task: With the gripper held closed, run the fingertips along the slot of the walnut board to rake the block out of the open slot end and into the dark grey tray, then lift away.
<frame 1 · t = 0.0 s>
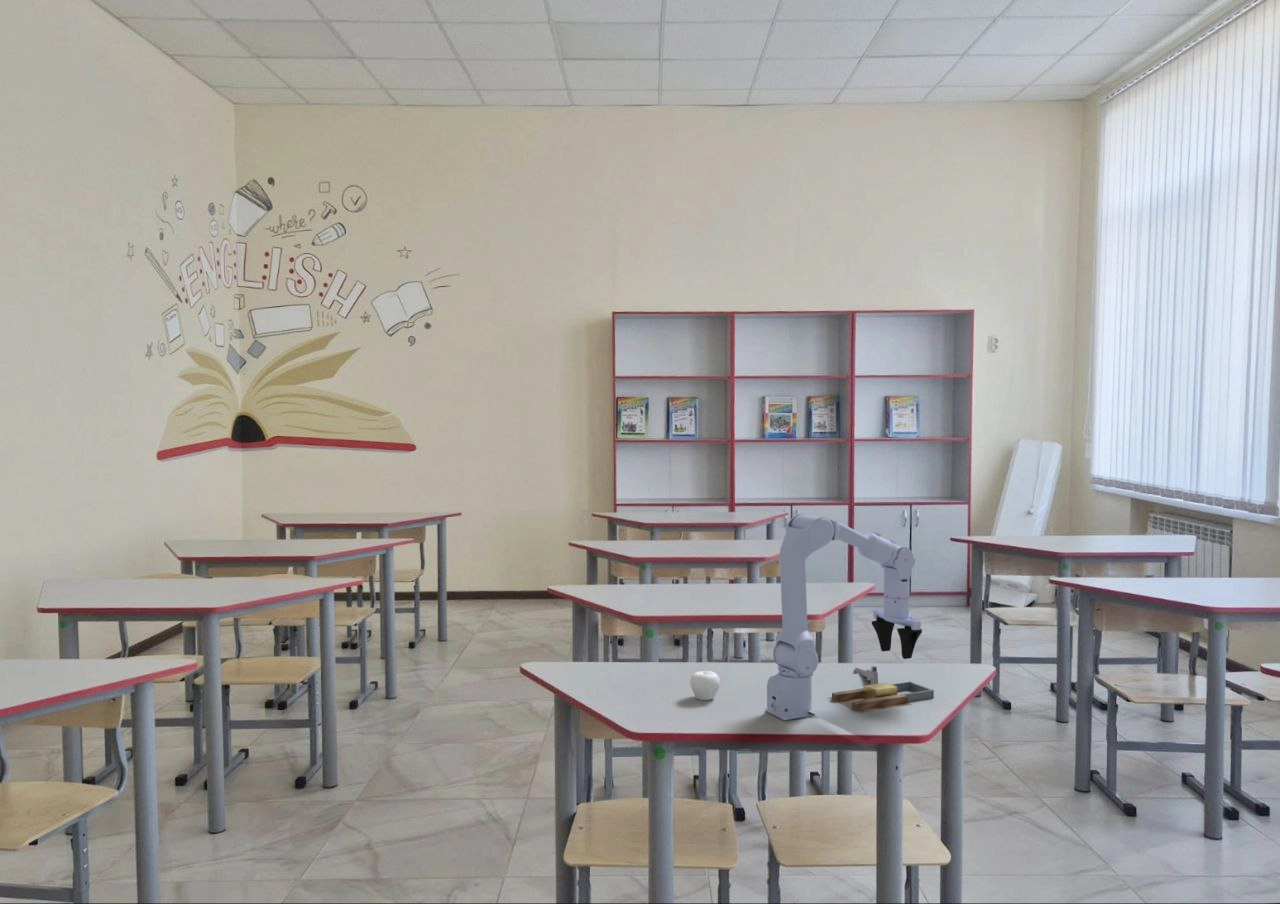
hand: (896, 654, 219), 10 cm above the table, tool pointing down, fingers open, 7 cm apart
slot board: (869, 706, 212), on the table
plain white apple: (705, 699, 219), on the table
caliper: (865, 683, 233), on the table
tray: (908, 700, 217), on the table
block: (880, 699, 214), point 1 cm above the table, touching slot board
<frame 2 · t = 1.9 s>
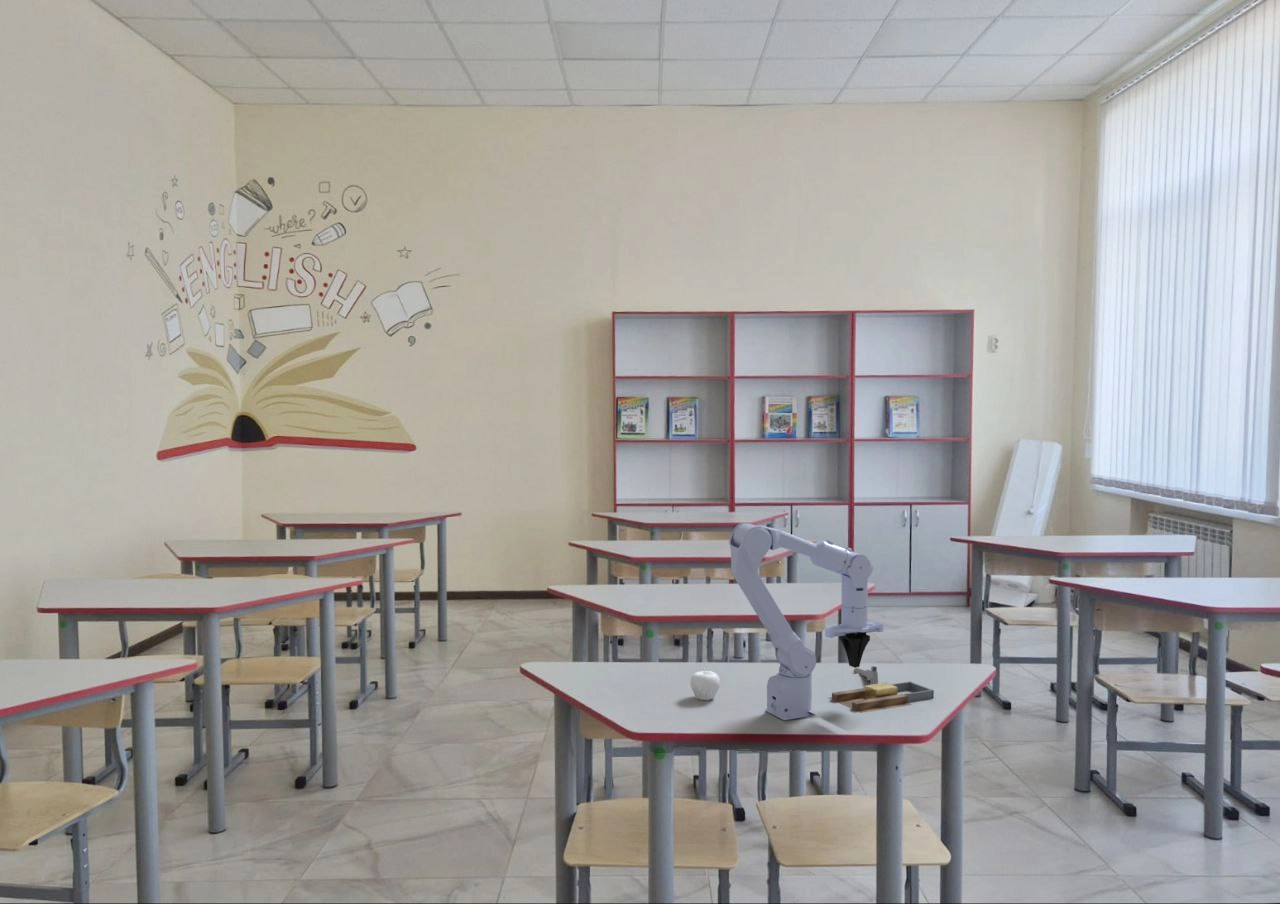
hand: (854, 666, 210), 10 cm above the table, tool pointing down, fingers closed
nothing on the table moved.
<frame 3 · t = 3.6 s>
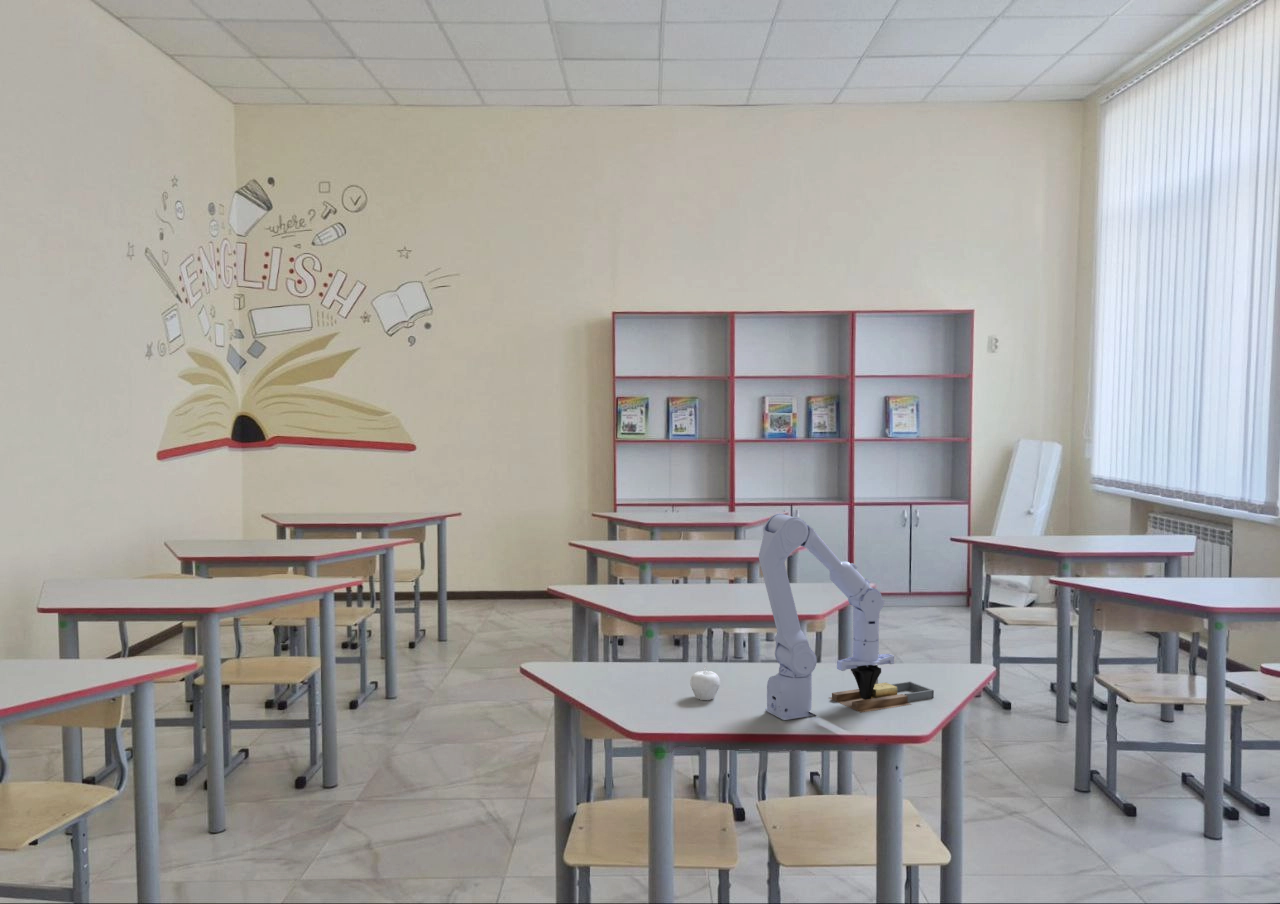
hand: (865, 698, 212), 2 cm above the table, tool pointing down, fingers closed
block: (880, 699, 214), point 1 cm above the table, touching gripper, slot board
everything else where it was.
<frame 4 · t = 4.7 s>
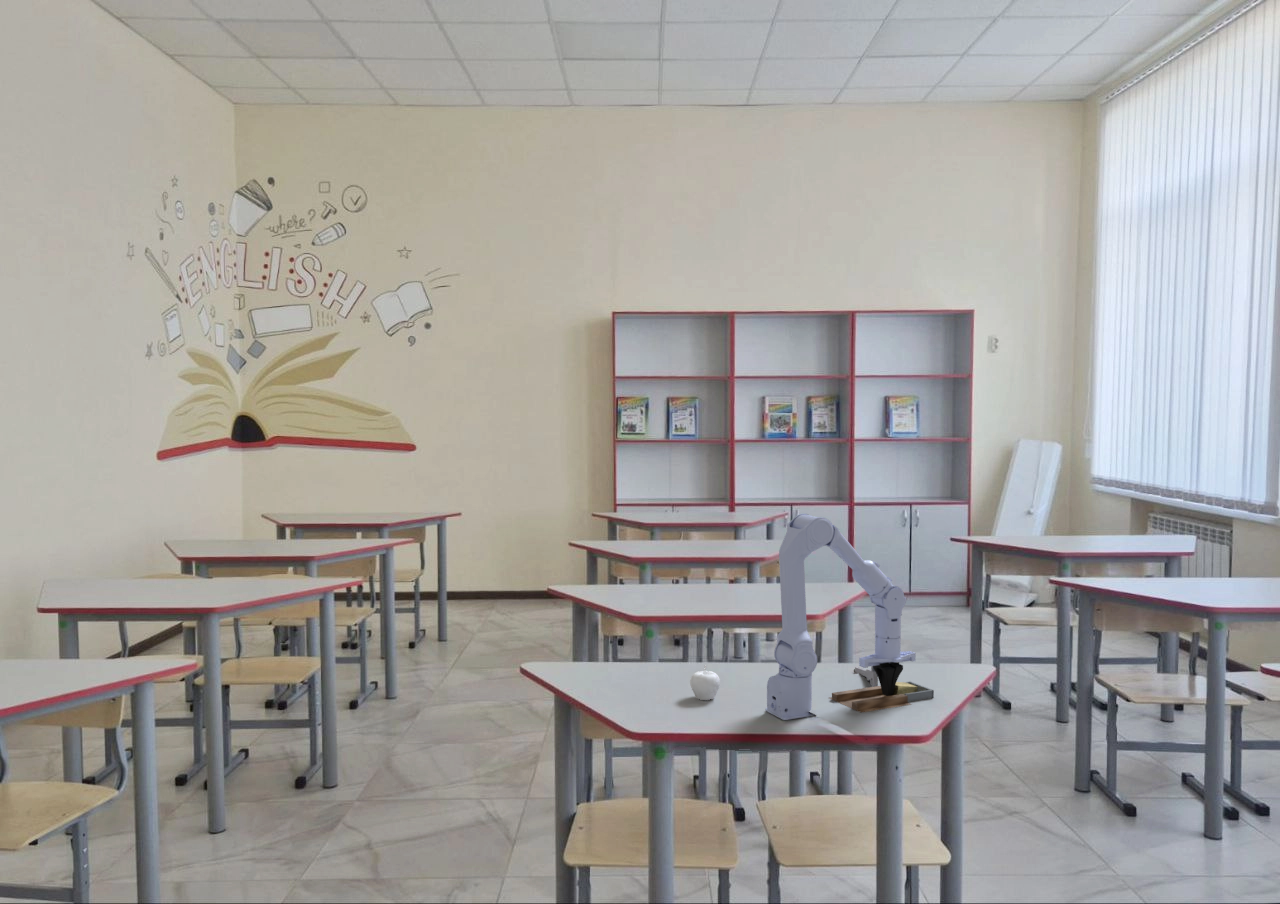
hand: (887, 695, 214), 2 cm above the table, tool pointing down, fingers closed
block: (900, 697, 216), point 1 cm above the table, tilted 9°, touching gripper
everything else where it was.
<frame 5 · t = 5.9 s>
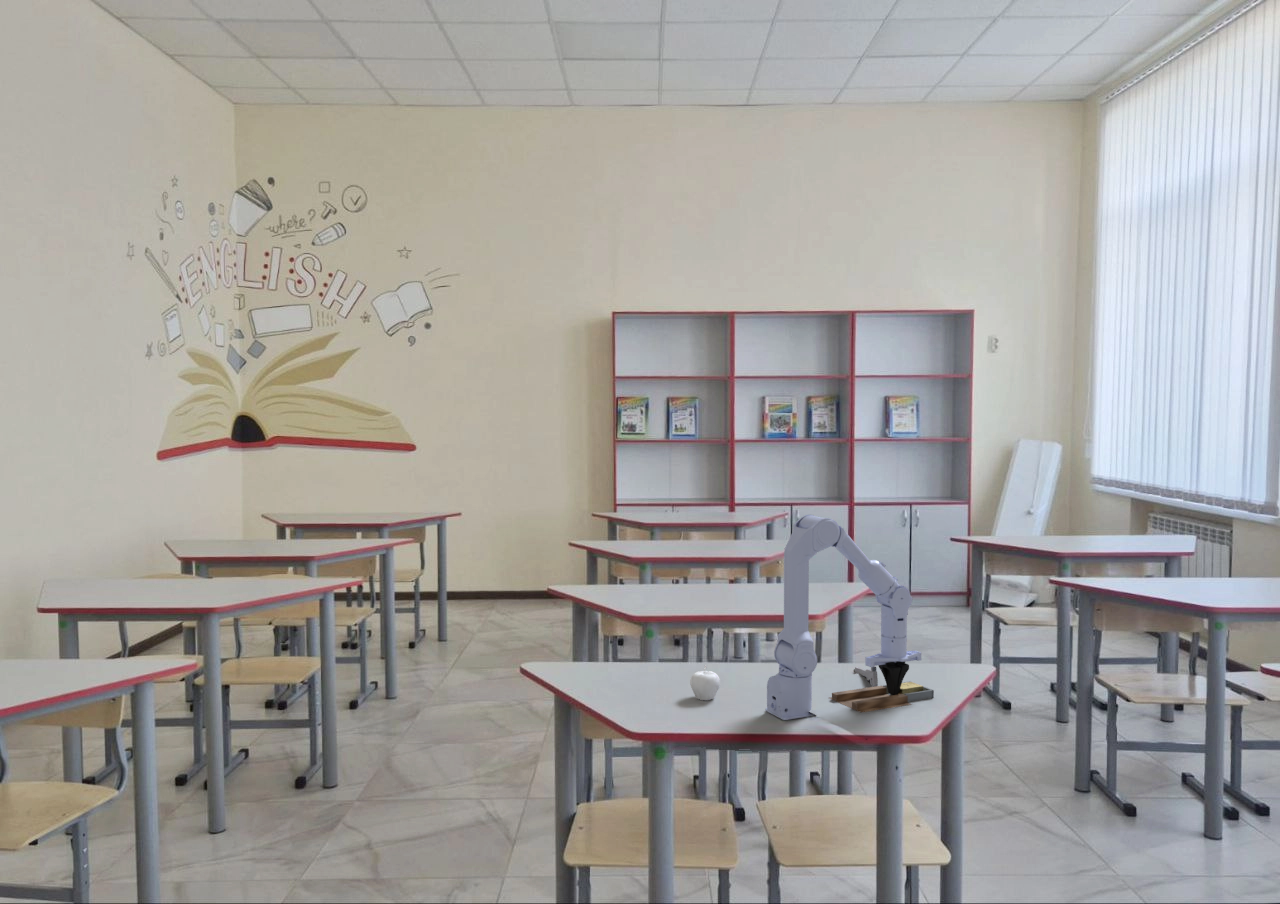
hand: (893, 694, 215), 2 cm above the table, tool pointing down, fingers closed
block: (906, 698, 217), resting on tray, touching gripper
everything else where it was.
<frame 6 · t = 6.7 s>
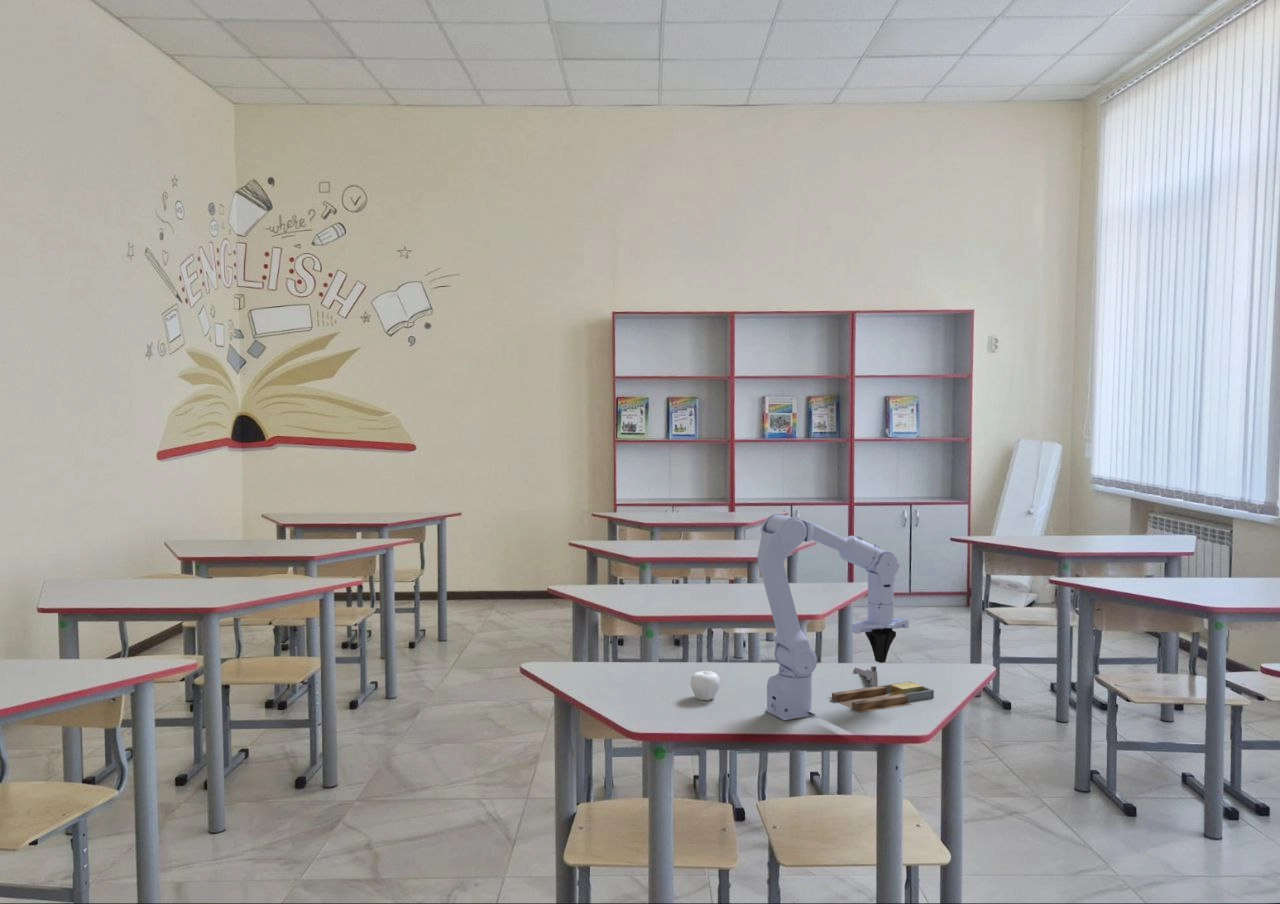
hand: (880, 661, 213), 10 cm above the table, tool pointing down, fingers closed
block: (906, 698, 217), resting on tray
everything else where it was.
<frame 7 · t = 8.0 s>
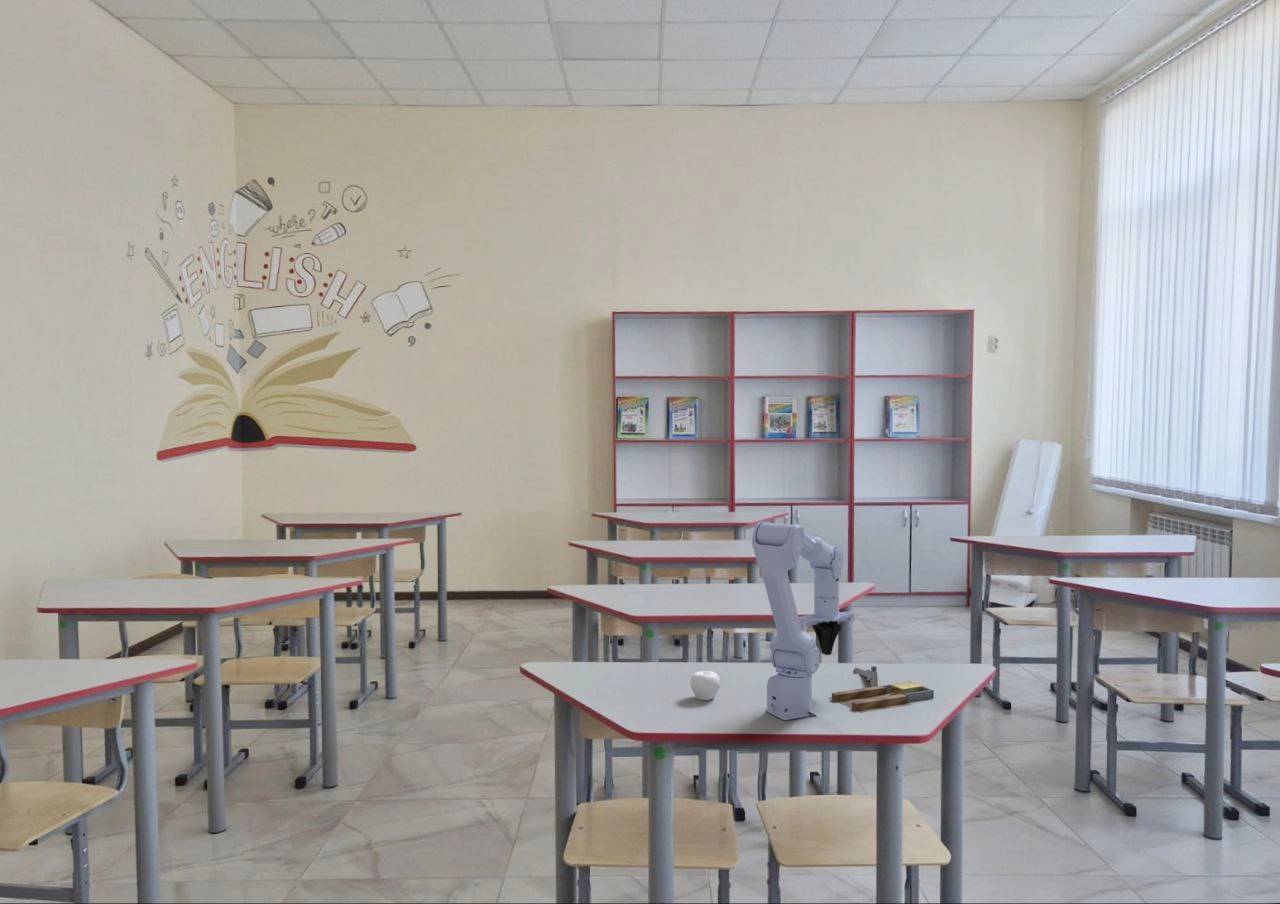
hand: (826, 653, 220), 10 cm above the table, tool pointing down, fingers closed
nothing on the table moved.
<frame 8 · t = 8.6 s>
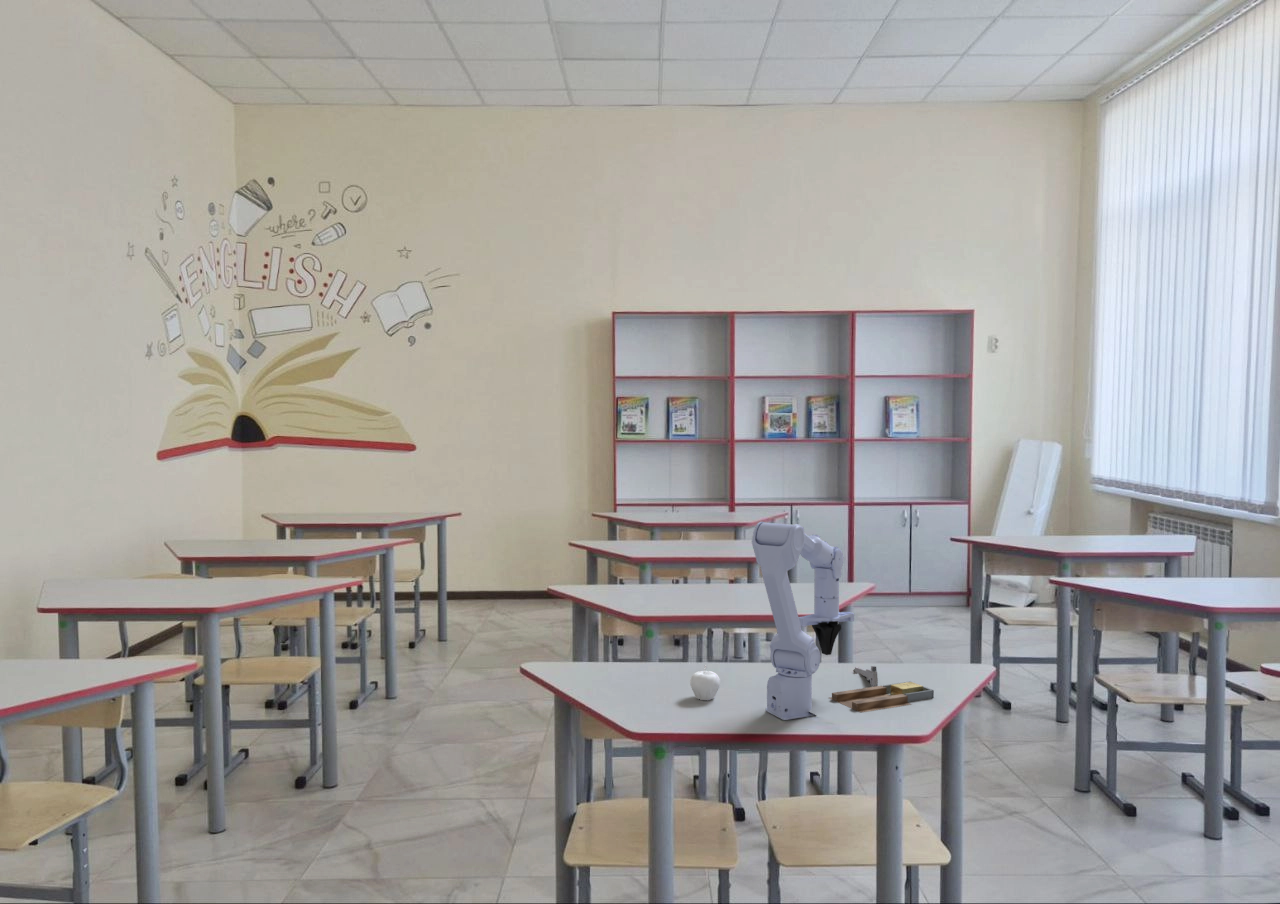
hand: (826, 653, 220), 10 cm above the table, tool pointing down, fingers closed
nothing on the table moved.
at the end: block inside the target area on the tray (0.3 cm from its centre), point 0.4 cm above the tray's base; block tilted 0°; the gripper is holding nothing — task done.
